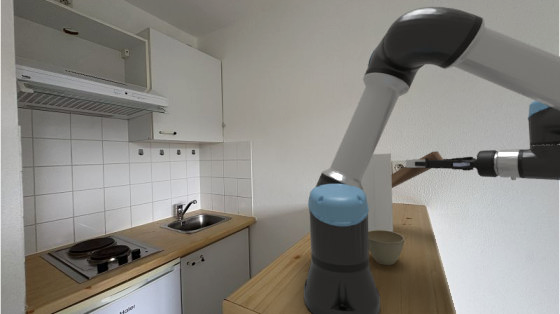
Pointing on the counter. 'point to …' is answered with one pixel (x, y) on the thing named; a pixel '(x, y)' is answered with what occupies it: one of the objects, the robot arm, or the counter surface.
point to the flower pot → (385, 246)
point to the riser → (379, 192)
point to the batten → (412, 170)
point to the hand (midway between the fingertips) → (410, 163)
